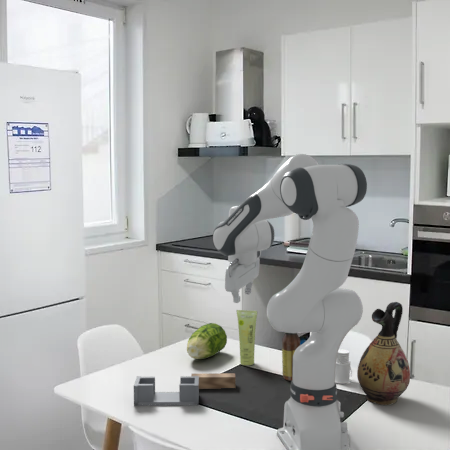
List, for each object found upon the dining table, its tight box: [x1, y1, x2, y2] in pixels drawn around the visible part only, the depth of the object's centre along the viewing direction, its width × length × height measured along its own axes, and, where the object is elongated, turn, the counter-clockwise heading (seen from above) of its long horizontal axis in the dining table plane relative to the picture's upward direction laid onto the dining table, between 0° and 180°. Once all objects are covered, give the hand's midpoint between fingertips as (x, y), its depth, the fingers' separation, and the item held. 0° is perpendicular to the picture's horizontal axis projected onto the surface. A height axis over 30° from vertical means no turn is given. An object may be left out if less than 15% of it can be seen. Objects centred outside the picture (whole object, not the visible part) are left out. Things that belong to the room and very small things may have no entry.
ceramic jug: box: [356, 301, 411, 406], centre depth 185 cm, size 17×15×30 cm
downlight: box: [335, 348, 353, 385], centre depth 202 cm, size 8×7×10 cm
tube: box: [236, 309, 258, 366], centre depth 217 cm, size 6×5×20 cm
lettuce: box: [186, 322, 228, 360], centre depth 224 cm, size 12×21×11 cm, turn 158°
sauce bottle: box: [281, 332, 301, 382], centre depth 203 cm, size 6×6×20 cm
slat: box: [190, 372, 236, 390], centre depth 196 cm, size 14×4×4 cm, turn 92°
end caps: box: [133, 375, 200, 406], centre depth 184 cm, size 19×8×6 cm, turn 91°
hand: (242, 298), depth 195 cm, fingers open, 8 cm apart
